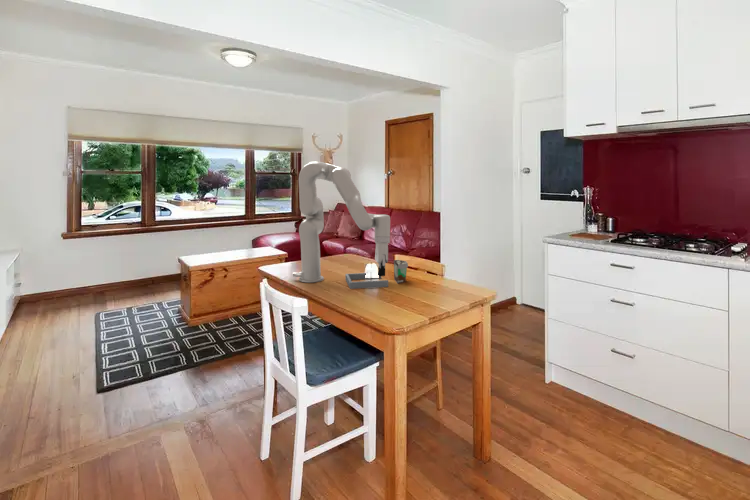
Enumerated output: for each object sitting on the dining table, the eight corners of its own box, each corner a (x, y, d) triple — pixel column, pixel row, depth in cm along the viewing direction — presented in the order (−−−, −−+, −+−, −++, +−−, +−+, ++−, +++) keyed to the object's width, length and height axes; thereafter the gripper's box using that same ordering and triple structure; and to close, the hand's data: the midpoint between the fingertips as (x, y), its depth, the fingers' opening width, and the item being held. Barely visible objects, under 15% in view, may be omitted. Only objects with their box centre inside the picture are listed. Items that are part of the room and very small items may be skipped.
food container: (410, 284, 207) (410, 264, 205) (398, 284, 206) (398, 264, 204) (405, 278, 219) (405, 259, 217) (393, 278, 218) (393, 259, 216)
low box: (349, 288, 199) (349, 282, 198) (345, 279, 217) (345, 273, 216) (388, 286, 202) (388, 280, 202) (380, 277, 220) (380, 272, 219)
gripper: (372, 237, 214) (371, 272, 217) (377, 242, 199) (377, 279, 202) (386, 237, 215) (385, 272, 218) (393, 241, 201) (392, 279, 204)
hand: (381, 275), depth 210 cm, fingers closed
